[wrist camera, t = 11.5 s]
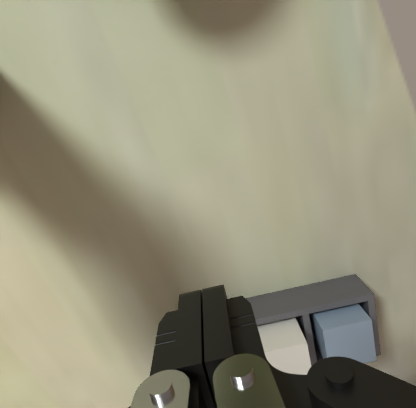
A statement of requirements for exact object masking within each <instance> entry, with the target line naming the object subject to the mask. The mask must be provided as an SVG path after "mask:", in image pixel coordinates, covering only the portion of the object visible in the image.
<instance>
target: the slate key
mask: <svg viewBox="0 0 416 408" xmlns="http://www.w3.org/2000/svg"><path fill="white" fill-rule="evenodd" d="M310 315H311V320H312V326H313V332H314V338H315V343H316V345H317V347H318V349H319V351H320V353H321V355H322V357H323V359H324V358H328V357H334V356H340V357H347V358H351V359H354V360H357V361H359V362H361V363H368V362H372V361H377V360H376V352H375V343H374V335H373V327H372V320H371V318H370V317H369V316H368V315H367V313H366V312H365V311H364V310H363V309H362V307H361V306H360V305H359V304H358V303H356V304H351V305H347V306H342V307H338V308H333V309H329V310H324V311H319V312H315V313H310Z"/></svg>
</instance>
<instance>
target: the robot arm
mask: <svg viewBox="0 0 416 408" xmlns="http://www.w3.org/2000/svg"><path fill="white" fill-rule="evenodd" d="M155 344H156V346H155V349H154V355H153V360H152V366H151V372H150V377H148V378H147V379H146V380H144V381H143V382H142V383H141V384H140V386H139V387H138V388H137V390H136V392H135V394H134V397H133V401H132V404H131V406H130V407H129V408H416V386H414V385H412V384H410V383H407V382H405V381H403V380H400V379H398V378H396V377H393V376H391V375H389V374H386V373H384V372H382V371H380V370H377V369H375V368H373V367H370V366H368V365H366V364H363V363H361V362H359V361H357V360H354V359H351V358H347V357H340V356H334V357H328V358H324V359H321V360H319V361H317V362H316V363H315V364H313V365H312V366H311V368H310V369H309V371H308V373H307V375H301V374H290V373H285V372H282V371H280V370H278V369H276V368H275V367H273V366H272V365H271V364H270V363H269V362H268V360H267V359H266V356H265V353H264V349H263V345H262V342H261V338H260V335H259V331H258V327H257V324H256V320H255V316H254V313H253V309H252V306H251V303H250V302H249V301H248V300H247V299H245V298H244V297H243V296H239V297H235V298H230V299H227V296H226V292H225V288H224V285H219V286H215V287H210V288H206V289H202V291H201V290H197V291H193V292H188V293H184V294H180V295H179V304H178V310H177V311H172V312H168V313H166V314H165V316H164V317H163V318H162V320H161V321H160V323H159V326H158V331H157V337H156V343H155Z"/></svg>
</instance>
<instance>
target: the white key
mask: <svg viewBox="0 0 416 408" xmlns="http://www.w3.org/2000/svg"><path fill="white" fill-rule="evenodd" d="M257 327H258V331H259V335H260V338H261V342H262V345H263V349H264V353H265V356H266V359H267V360H268V362H269V363H270V364H271V365H272V366H273V367H275V368H276V369H278V370H280V371H282V372H285V373H290V374H301V375H307V373H308V371H309V369H310V368H311V361H310V356H309V350H308V345H307V342H306V340H305V337H304V335H303V333H302V331H301V329H300V327H299V325H298V322H297V320H296V318H295V317H292V318H288V319H283V320H278V321H274V322H269V323H265V324H260V325H257Z"/></svg>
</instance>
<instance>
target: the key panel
mask: <svg viewBox="0 0 416 408" xmlns="http://www.w3.org/2000/svg"><path fill="white" fill-rule="evenodd" d="M246 299H247V300H248V301H249V302H250V303H251V306H252V309H253V313H254V316H255V320H256V324H257V325H260V324H265V323H269V322H274V321H278V320H283V319H288V318H292V317H295V318H296V320H297V322H298V325H299V327H300V329H301V331H302V333H303V335H304V337H305V340H306V342H307V345H308V350H309V356H310V361H311V366H312V365H313V364H315V363H316V362H317V361H319V360H321V359H323V357H322V355H321V353H320V351H319V349H318V347H317V345H316V343H315V338H314V332H313V326H312V320H311V315H310V313H315V312H319V311H324V310H329V309H333V308H338V307H342V306H347V305H351V304H356V303H358V304H359V305H360V306H361V307H362V309H363V310H364V311H365V312H366V313H367V315H368V316H369V317H370V318H371V320H372V327H373V335H374V343H375V352H376V356H378V355H381V352H380V344H379V335H378V326H377V318H376V309H375V301H374V293H373V292H372V291H371V290H370V289H369V288H368V287H367V286H366V285H365V284H364V283H363V282H362V281H361V280H360V279H359V278H358V277H357V276H356V274H354V275H349V276H345V277H340V278H336V279H331V280H327V281H322V282H318V283H313V284H309V285H304V286H300V287H295V288H291V289H286V290H282V291H277V292H273V293H268V294H264V295H259V296H255V297H250V298H246Z"/></svg>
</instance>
